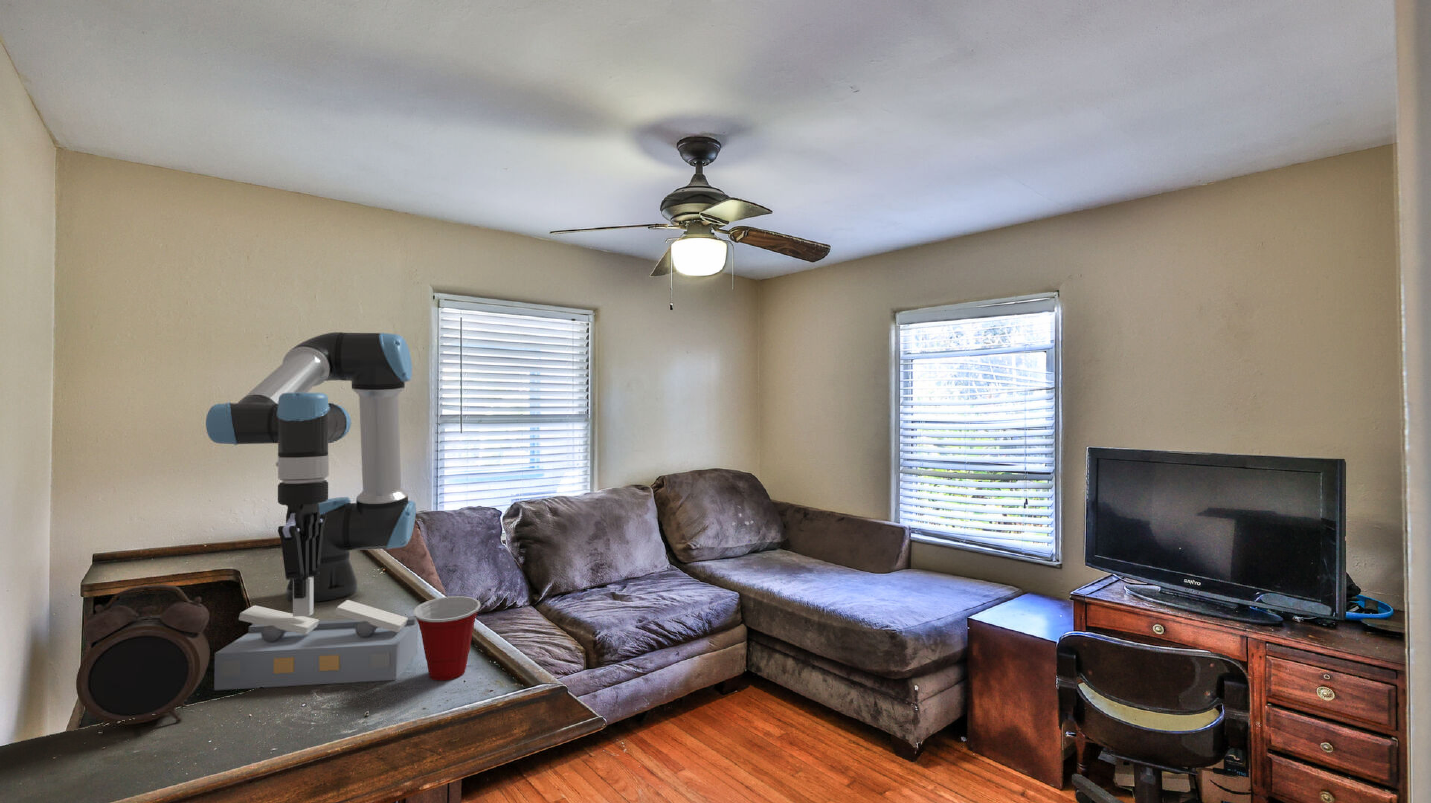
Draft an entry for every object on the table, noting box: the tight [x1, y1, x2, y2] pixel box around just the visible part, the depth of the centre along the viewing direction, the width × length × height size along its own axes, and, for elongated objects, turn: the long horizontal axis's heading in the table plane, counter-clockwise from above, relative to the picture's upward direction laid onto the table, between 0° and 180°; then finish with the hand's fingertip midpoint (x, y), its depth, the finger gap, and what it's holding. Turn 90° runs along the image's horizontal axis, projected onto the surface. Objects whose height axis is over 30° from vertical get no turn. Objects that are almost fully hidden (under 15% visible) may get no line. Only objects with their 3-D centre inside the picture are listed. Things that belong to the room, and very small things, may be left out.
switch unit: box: [213, 615, 419, 691], centre depth 115 cm, size 12×28×7 cm, turn 99°
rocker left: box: [238, 604, 320, 642], centre depth 114 cm, size 4×11×4 cm, turn 99°
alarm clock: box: [75, 584, 211, 733], centre depth 96 cm, size 15×7×20 cm, turn 117°
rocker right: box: [334, 599, 408, 637], centre depth 117 cm, size 4×11×4 cm, turn 99°
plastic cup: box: [413, 595, 481, 681], centre depth 114 cm, size 11×11×12 cm
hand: (303, 614), depth 115 cm, fingers closed
